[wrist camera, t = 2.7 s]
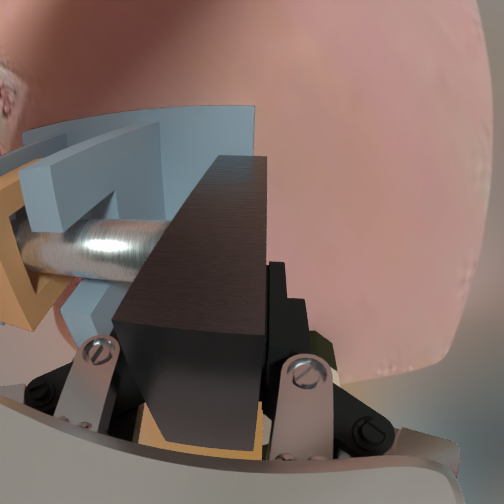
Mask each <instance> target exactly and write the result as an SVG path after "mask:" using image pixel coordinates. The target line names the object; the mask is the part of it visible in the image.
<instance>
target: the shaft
mask: <svg viewBox="0 0 504 504" xmlns="http://www.w3.org/2000/svg"><path fill="white" fill-rule="evenodd" d="M10 223H11V226H12V230H13V233H14V237H15V240H16V243H17V246H18V249H19V252H20V255H21V258H22V261H23V264H24V266H25V269H26V270H27V271H35V272H42V273H50V274H58V275H66V276H74V277H83V278H92V279H101V280H111V281H121V282H131V283H132V284H131V286H130V287H129V289H128V291H127V293H126V294H125V296H124V298H123V299H122V301H121V303H120V305H119V306H118V308H117V310H116V312H115V313H114V315H113V317H112V319H111V321H112V324H113V327H114V329H115V332H116V335H117V337H118V340H119V343H120V345H121V348H122V350H123V353H124V355H125V358H126V360H127V362H128V365H129V367H130V369H131V372H132V374H133V376H134V379H135V381H136V383H137V385H138V387H139V390H140V392H141V394H142V396H143V398H144V400H145V402H146V404H147V406H148V408H149V410H150V412H151V414H152V416H153V418H154V420H155V422H156V424H157V426H158V428H159V429H160V431H161V433H162V435H163V437H164V438H165V440H166V441H169V442H175V443H180V444H186V445H193V446H200V447H208V448H219V449H229V450H241V451H253V448H254V439H255V430H256V421H257V411H258V401H259V391H260V381H261V370H262V360H263V349H264V338H265V297H266V226H267V156H242V155H218V156H217V158H216V159H215V160H214V162H213V163H212V164H211V166H210V167H209V168H208V170H207V171H206V172H205V174H204V175H203V177H202V178H201V179H200V181H199V182H198V183H197V185H196V186H195V188H194V189H193V190H192V192H191V193H190V195H189V196H188V198H187V199H186V200H185V202H184V203H183V205H182V206H181V208H180V209H179V211H178V212H177V214H176V215H175V216H174V218H173V219H172V220H147V219H79V220H77V221H76V222H75V223H74V224H73V225H72V226H70V227H69V228H68V229H67V230H66V231H65V232H64V233H56V232H32V231H31V227H30V223H29V220H28V219H10Z"/></svg>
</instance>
